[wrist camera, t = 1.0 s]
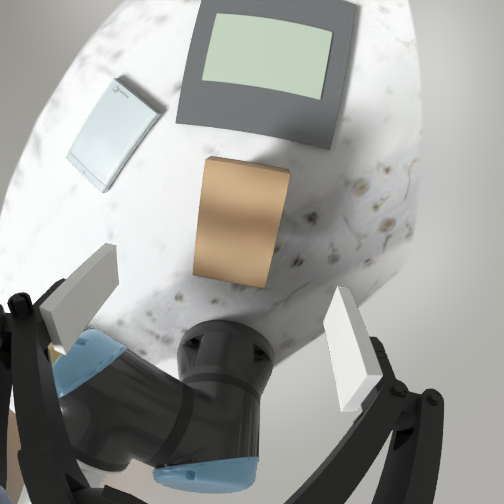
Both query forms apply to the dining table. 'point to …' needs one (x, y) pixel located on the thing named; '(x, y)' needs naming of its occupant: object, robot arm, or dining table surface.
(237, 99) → the mat
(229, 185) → the card box
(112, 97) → the hard drive
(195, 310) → the dining table surface
